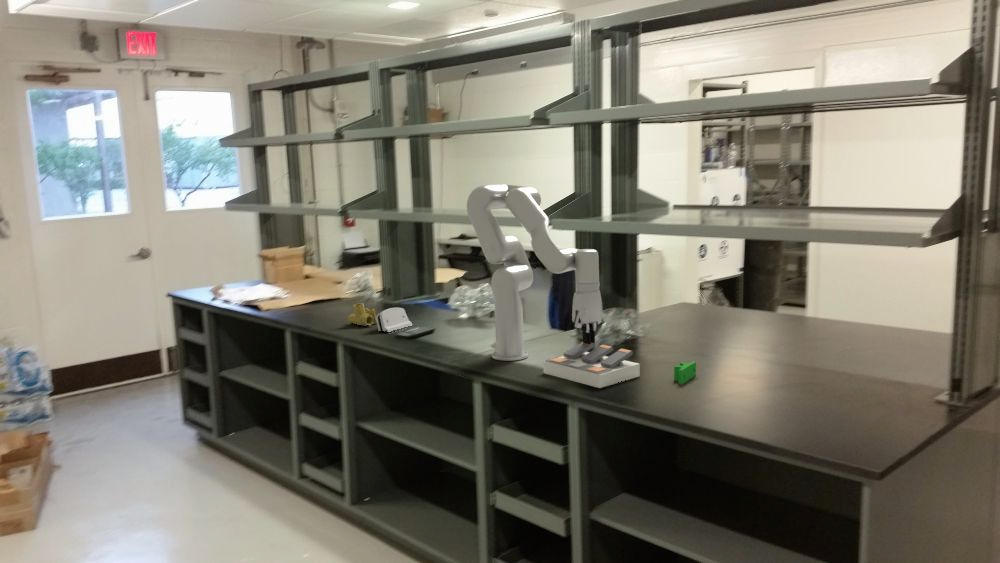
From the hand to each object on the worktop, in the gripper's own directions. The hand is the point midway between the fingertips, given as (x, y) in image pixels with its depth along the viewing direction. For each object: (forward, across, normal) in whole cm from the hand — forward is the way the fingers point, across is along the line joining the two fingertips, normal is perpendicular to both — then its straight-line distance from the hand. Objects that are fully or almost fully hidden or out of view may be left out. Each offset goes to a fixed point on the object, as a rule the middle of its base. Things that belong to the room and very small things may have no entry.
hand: (588, 343), depth 248 cm
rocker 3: (+2, +4, +16) cm, 16 cm away
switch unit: (+8, +7, +8) cm, 13 cm away
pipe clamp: (+8, -8, +31) cm, 33 cm away
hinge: (+7, +11, -100) cm, 101 cm away
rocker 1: (+1, +4, 0) cm, 5 cm away
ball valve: (+6, +15, -118) cm, 119 cm away
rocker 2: (+2, +4, +8) cm, 9 cm away
